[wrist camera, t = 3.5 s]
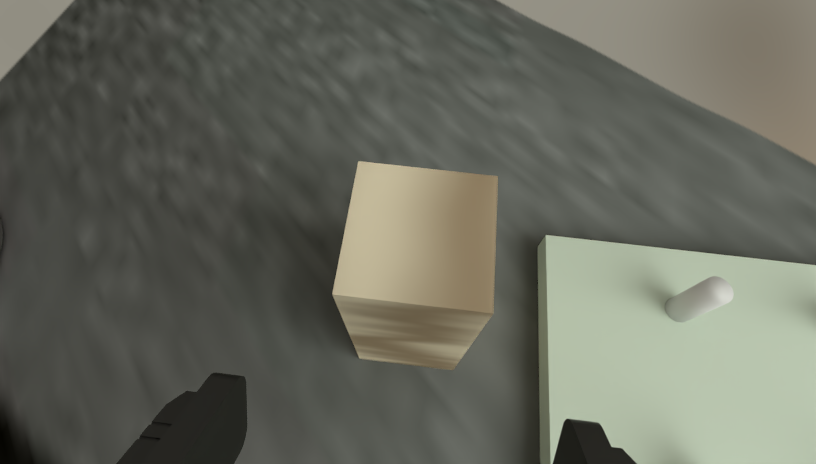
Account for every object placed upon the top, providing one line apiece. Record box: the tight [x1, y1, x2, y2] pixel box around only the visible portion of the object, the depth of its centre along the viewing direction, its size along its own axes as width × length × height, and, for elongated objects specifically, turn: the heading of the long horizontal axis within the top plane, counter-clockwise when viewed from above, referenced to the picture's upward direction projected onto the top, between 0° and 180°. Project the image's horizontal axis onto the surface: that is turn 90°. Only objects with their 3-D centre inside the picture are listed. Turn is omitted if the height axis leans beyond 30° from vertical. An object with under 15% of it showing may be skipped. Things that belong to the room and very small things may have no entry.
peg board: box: [538, 235, 816, 464], centre depth 19 cm, size 20×14×4 cm
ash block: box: [332, 161, 498, 370], centre depth 18 cm, size 4×4×10 cm
